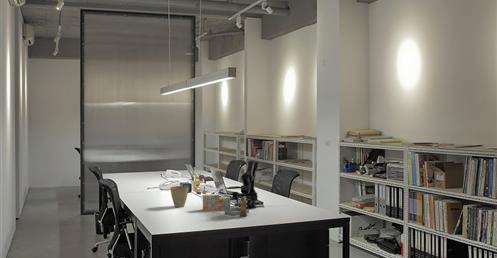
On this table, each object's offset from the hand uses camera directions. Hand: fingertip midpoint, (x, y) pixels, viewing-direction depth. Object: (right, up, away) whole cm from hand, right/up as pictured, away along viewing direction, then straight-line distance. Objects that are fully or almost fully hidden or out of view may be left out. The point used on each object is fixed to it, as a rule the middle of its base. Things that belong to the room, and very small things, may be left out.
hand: (243, 204), depth 357 cm
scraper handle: (0, -8, 0) cm, 8 cm away
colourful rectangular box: (-22, -8, +25) cm, 34 cm away
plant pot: (-53, -8, +38) cm, 65 cm away
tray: (-5, -8, +10) cm, 14 cm away
